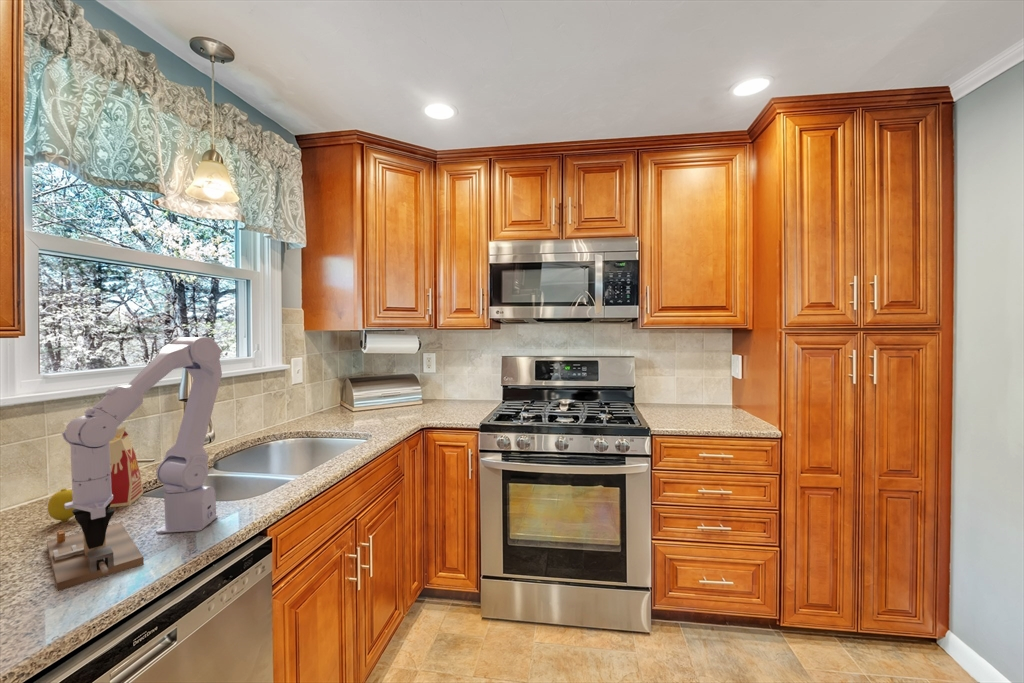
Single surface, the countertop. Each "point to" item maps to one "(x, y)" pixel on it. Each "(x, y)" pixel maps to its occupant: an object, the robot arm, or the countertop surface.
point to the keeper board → (80, 561)
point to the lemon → (60, 505)
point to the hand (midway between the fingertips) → (94, 544)
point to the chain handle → (83, 550)
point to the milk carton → (124, 470)
